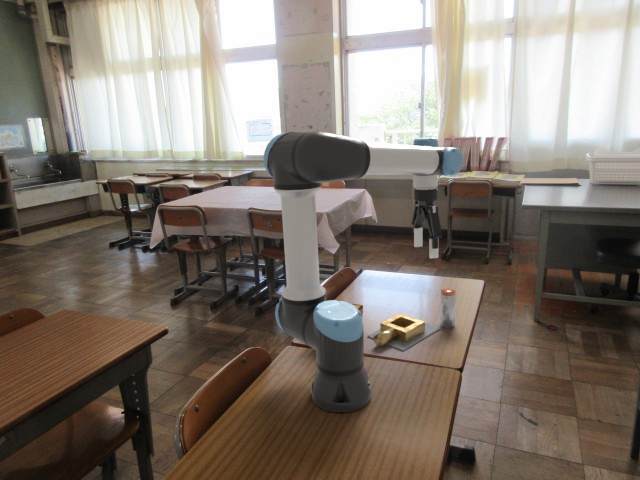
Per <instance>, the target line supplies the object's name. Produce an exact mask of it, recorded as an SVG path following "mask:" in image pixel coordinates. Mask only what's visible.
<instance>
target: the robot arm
mask: <svg viewBox="0 0 640 480" xmlns="http://www.w3.org/2000/svg"><path fill="white" fill-rule="evenodd" d="M463 156H464V155H463V153H462V151H461V149H459V148H458V147H452V146H451V147H450V146H446V147H445V146H443V147H442V146H439V140H438V138H437V137H418V138H414V140H413V145H411V144H396V143H380V142H368V141H367V140H365V139H364V138H362V137H357V136H355V137H354V136H348V135H342V134H337V133H333V132H326V131H316V130H315V131H314V130H313V131H290V132H289V131H287V132H284V133H283V132H282V133H280V134H277V135H276V136H274V137H272V138H271V140H270V141H269V142H268V143H267V144H266V147H265V150H264V152H263V165H264V168H265V171H266V172H267V173H268V174H269V175H270V177H272V178H273V188H274V189H273V190H274V191H275V192H276V193H277V194H278V195H279V196H280V200H281V201H280V203H281V204H280V205H281V216H282V220H281V221H282V233H283V246H284V247H283V249H284V250H283V251H284V262H285V263H284V264H285V279H286V286H285V288H284V289H283V290H282V291H281V297H280V298H278V300H279V302H278V303H276V306H275V311H274V312H275V313H274V315H275V320H276V324H277V325H278V327H279V328H280V329H281V330H282V331H283V332H284V333H285V334H286V335H288V336H290V338H293V339H296V340H298V341H299V342H301V343H302V344H305V345H306V346H308V347H310V348H311V349H313V350H314V351H315V356H316V357H315V358H316V370H315V373H314V377H313V381H312V383H311V389H310V390H311V399H312V400H311V401H312V402H313V403H314V404H315V406H317V407H318V408H319V407H320V408H319V409H321V408H322V409H321V410H323V409H325V410H324V411H326V410H328V411H327V412H329V411H332V412H331V413H335V412H343V413H342V414H344V413H346V412H347V413H351V412H356V411H359V410H361V409H363V408H364V407H366V406H367V405H368V404H369V403H370V401H371V400H372V395H373V393H372V383H371V381H370V379H369V377H368V374H367V371H366V368H365V363H364V357H365V355H364V334H363V332H364V330H365V329H364V328H365V327H364V323H363V314H362V315H361V312H360V311H359V309H358V308H357V307H356V306H354V305H352V304H353V303H351V302H348V301H345V300H340V301H338V299H332V300H331V299H329V300H327V293H326V292H327V290H326V288H325V287H324V286H323V285H321V283H320V265H319V264H320V263H319V249H318V248H319V247H318V246H319V245H318V226H317V206H316V204H317V200H316V194H317V193H318V192H319V191H320V189H321V188H322V183H331V182H341V181H348V180H349V181H351V180H360V179H363V178H364V177H365V176H390V175H391V176H409V175H410V176H413V182H412V183H413V188H414V189H413V200H414V207H413V212H412V218H411V226H412V227H413V247H414V248H420V247H421V248H422V247H423V244H424V243H423V241H424V240H423V231H424V229H423V227H424V224H423V223H424V220H425V221H426V225H427V229H428V232H429V236H428V240H429V245H428V248H429V249H428V251H429V253H428V254H429V256H428V257H429V259H431V260H432V259H438V258H439V250H440V249H439V241H440V239H439V238H442V237H443V233H442V227H441V222H440V220H441V219H440V217H439V207H438V205H434V202H435V201H438V199H439V189H438V186H439V179H440V176H444V177H447V176H456V175H458V174H459V173H460V172H461V169H462V168H463V163H464V157H463Z"/></svg>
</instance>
